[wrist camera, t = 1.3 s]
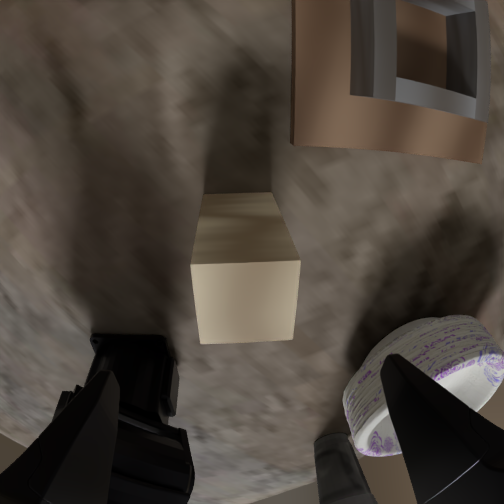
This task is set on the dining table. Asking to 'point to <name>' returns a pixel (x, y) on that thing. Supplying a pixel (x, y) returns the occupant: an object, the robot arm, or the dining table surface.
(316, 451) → the beverage cup
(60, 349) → the dining table surface
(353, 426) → the paper bowls
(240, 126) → the dining table surface
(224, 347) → the dining table surface
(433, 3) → the socket board
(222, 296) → the maple peg
